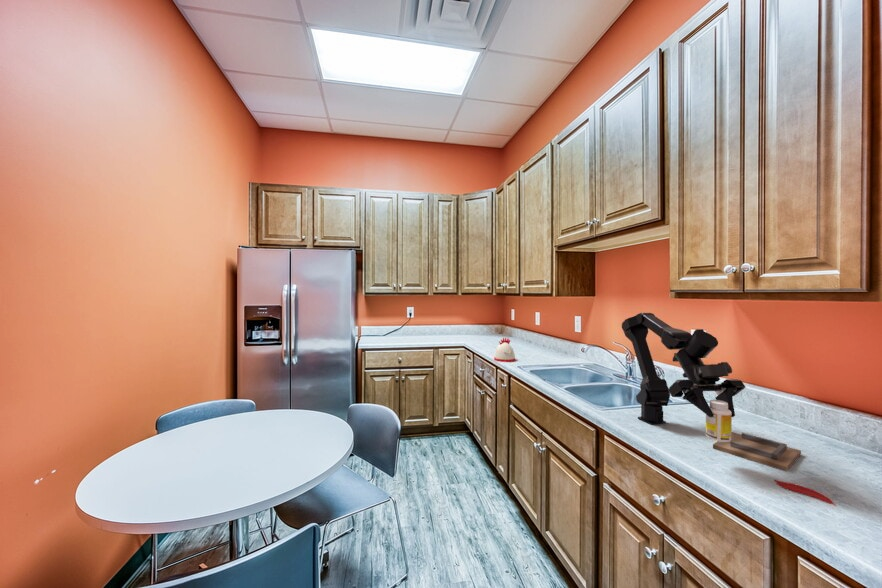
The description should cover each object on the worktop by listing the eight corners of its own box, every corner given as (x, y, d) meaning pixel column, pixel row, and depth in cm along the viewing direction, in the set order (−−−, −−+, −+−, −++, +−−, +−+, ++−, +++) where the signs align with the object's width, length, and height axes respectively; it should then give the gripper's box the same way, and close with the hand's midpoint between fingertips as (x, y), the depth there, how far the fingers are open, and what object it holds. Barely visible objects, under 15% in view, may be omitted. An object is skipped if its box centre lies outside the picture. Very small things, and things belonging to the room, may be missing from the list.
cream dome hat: (518, 361, 229) (518, 338, 229) (499, 362, 226) (499, 339, 226) (509, 357, 243) (509, 335, 243) (491, 358, 239) (491, 336, 239)
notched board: (712, 448, 105) (712, 439, 104) (731, 435, 114) (731, 427, 114) (786, 471, 91) (786, 461, 91) (800, 454, 100) (800, 445, 100)
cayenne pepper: (766, 481, 88) (766, 473, 88) (780, 479, 88) (780, 471, 88) (827, 511, 76) (827, 502, 76) (843, 508, 77) (843, 500, 77)
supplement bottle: (731, 438, 96) (732, 401, 96) (730, 444, 92) (731, 406, 92) (706, 432, 100) (707, 397, 100) (704, 438, 96) (705, 402, 96)
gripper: (676, 351, 99) (705, 403, 89) (740, 351, 100) (777, 402, 89) (658, 372, 107) (683, 421, 97) (717, 371, 108) (749, 421, 97)
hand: (722, 416), depth 95 cm, fingers closed on supplement bottle, 6 cm apart
